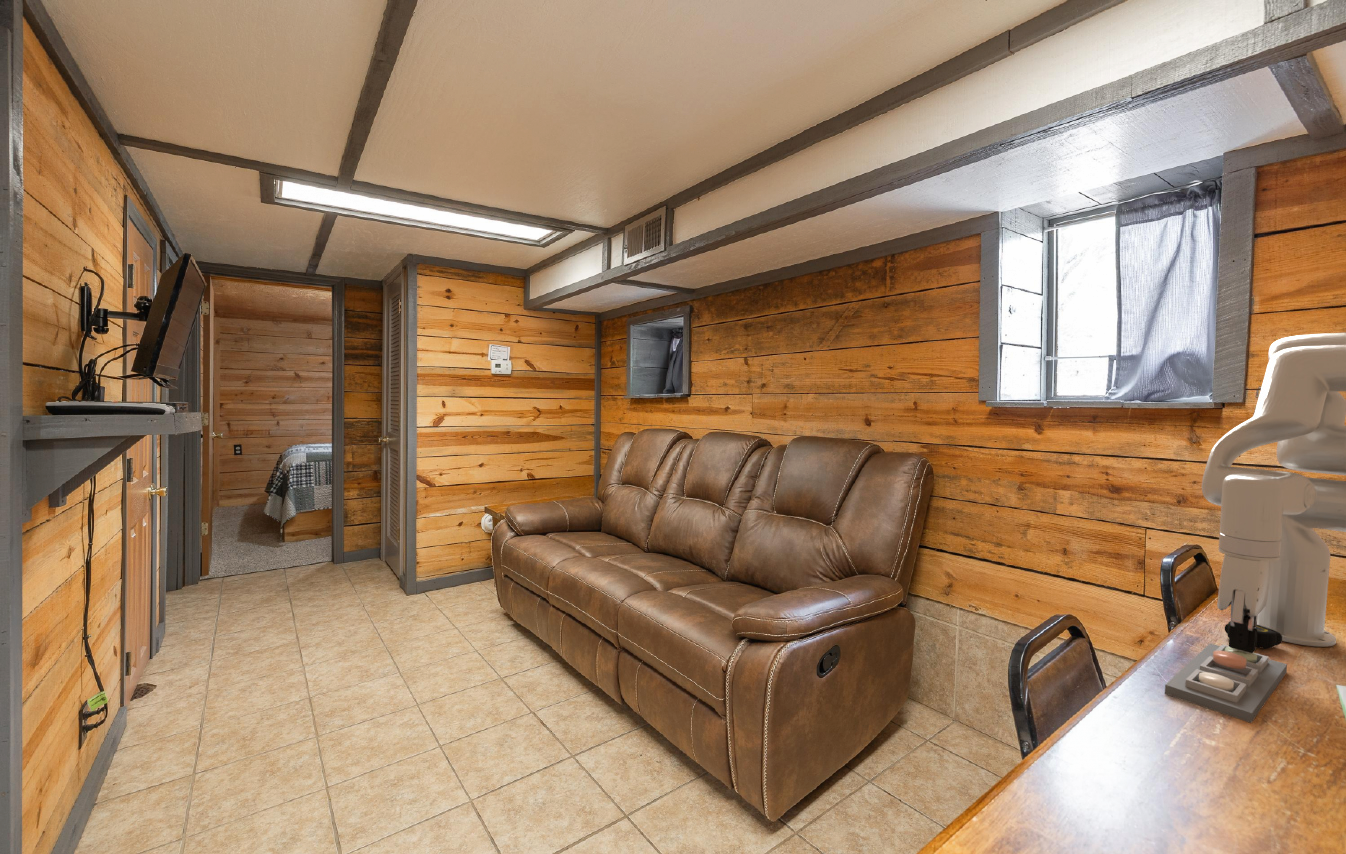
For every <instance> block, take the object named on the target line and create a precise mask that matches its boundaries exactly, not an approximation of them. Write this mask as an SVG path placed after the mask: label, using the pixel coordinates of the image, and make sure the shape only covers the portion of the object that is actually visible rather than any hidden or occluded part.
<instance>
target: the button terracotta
mask: <svg viewBox="0 0 1346 854" xmlns="http://www.w3.org/2000/svg"><path fill="white" fill-rule="evenodd" d="M1213 660H1214V661H1215V662H1216V663H1218V664H1221V665H1223V666H1227V667H1230V668H1236V669H1245V668H1246V661H1247V660H1246V658H1244V657H1243V656H1240V655H1238V654H1235V653H1231V652H1227V651H1214V652H1213Z"/></svg>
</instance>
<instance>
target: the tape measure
mask: <svg viewBox="0 0 1346 854" xmlns="http://www.w3.org/2000/svg"><path fill="white" fill-rule="evenodd" d="M1230 624H1231V620H1229V621H1228V623H1227V624H1225V626H1224V631H1225V633H1226V634H1227V637H1228V639H1229V630H1230ZM1256 629H1257V641H1256V649H1257V648H1258V649H1272V648H1274V647H1276V646H1279V645H1280V644H1282V642H1283V641H1282V636H1281V634H1280V633H1279V632H1277V631H1274V630H1272V629H1269V628H1267V627H1264V626H1261V625H1257V626H1256Z"/></svg>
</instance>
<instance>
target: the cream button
mask: <svg viewBox="0 0 1346 854" xmlns="http://www.w3.org/2000/svg"><path fill="white" fill-rule="evenodd" d="M1199 682H1200V683H1203V684H1206V685H1209V686H1212V687H1215V688H1219V689H1222V690H1225V691H1228V692H1232V691H1233V685H1234V682H1233V681H1232V680H1231V679H1229V678H1227V677H1224V676H1222V675H1218V674H1214V673H1208V672H1202V673H1199Z"/></svg>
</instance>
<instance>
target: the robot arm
mask: <svg viewBox="0 0 1346 854" xmlns="http://www.w3.org/2000/svg"><path fill="white" fill-rule="evenodd" d="M1267 356H1268V358H1267V359H1268V363H1267V365H1266V368H1265V374H1264V376H1263V381H1262V384H1261V387H1260V390H1259V391H1260V392H1259V395H1258V398H1257V401H1256V402H1257V403H1256V405H1255V409H1254V413H1253V415H1252V417H1250V418H1249V419H1247V420H1245V421H1244V422H1242V423H1240V424H1238V425H1237V426H1235V427H1234V428H1232V429H1231V430H1229V431H1228V432H1226V433H1225V434H1224V435H1223V436H1222V437H1221V438H1220V439H1219V440H1218V441H1216V442H1215V444H1214V446H1213V447H1212V448H1211V450H1210V451H1209V454H1208V455H1209V456H1208V459H1207V460H1206V461H1207V462H1206V466H1205V468H1204V472H1203V475H1202V481H1201V493H1202V496H1203V497H1204V499H1206V501H1207V502H1209V503H1211V504H1212V505H1216V506H1219V507H1221V508H1220V521H1219V537H1218V550H1217V551H1218V552H1219V553H1220V554H1224V556H1223V560H1222V563H1221V572H1220V577H1219V585H1218V594H1217V595H1218V596H1217V604H1216V607H1217V609H1219V611H1224V610H1226V609H1228V608H1229V607H1230V621H1231V624H1230V630H1229V638H1228V646H1229V647H1231V648H1234V649H1238V650H1241V651H1245V652H1249V653H1255V651H1256V650H1257V647H1256V641H1257V629H1256V626H1257V625H1261V626H1264V627H1267V628H1269V629H1272V630H1274V631H1277V632H1279V633H1280V634H1281V636H1282V642H1284V643H1285V642H1286V643H1291V644H1295V645H1301V646H1306V647H1307V646H1308V647H1318V648H1319V647H1320V648H1321V647H1322V648H1323V647H1324V648H1326V647H1332V646H1335V645H1336V644H1337V643H1336V641H1337V638H1336V636H1335V635H1334V634H1333V633H1331V632H1329V631H1327V630H1325V628H1326V627H1325V625H1326V624H1325V623H1326V613H1327V599H1328V588H1329V576H1330V567H1331V566H1330V564H1331V552H1330V548H1329V546H1328V544H1327V543H1326V542H1325V541H1324V539H1322V537H1321V536H1320V535H1319V534H1318V532H1316V531H1315V529H1318V530H1329V531H1336V532H1343V533H1346V480H1345V481H1344V480H1338V479H1337V480H1336V479H1327V478H1319V477H1318V478H1317V477H1307V476H1305V475H1303V474H1300V473H1296V472H1291V471H1283V470H1282V471H1281V470H1269V469H1264V468H1263V469H1262V468H1261V469H1260V468H1253V467H1252V468H1251V467H1250V468H1249V467H1241V466H1240V467H1238V466H1232V465H1233V463H1234V462H1235V461H1236V459H1237V458H1238V457H1240V456H1241V455H1243V454H1244V453H1247V452H1248V451H1250V450H1253V449H1255V448H1258V447H1262V446H1266V445H1271V444H1274V443H1276V444H1277V445H1276V459H1277V461H1278V464H1280V466H1282V467H1284V468H1286V469H1288V470H1293V471H1297V472H1304V473H1305V472H1306V473H1314V474H1315V473H1316V474H1325V475H1336V476H1346V425H1345V423H1346V399H1345V397H1344V396H1343V395H1342V393H1341V392H1346V332H1333V333H1332V332H1331V333H1329V332H1327V333H1325V332H1324V333H1312V334H1311V333H1309V334H1299V335H1292V336H1286V337H1282V338H1280V339H1277V340H1275V341H1274V342H1273V343H1271V345H1270V346H1269V349H1268V355H1267Z"/></svg>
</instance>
